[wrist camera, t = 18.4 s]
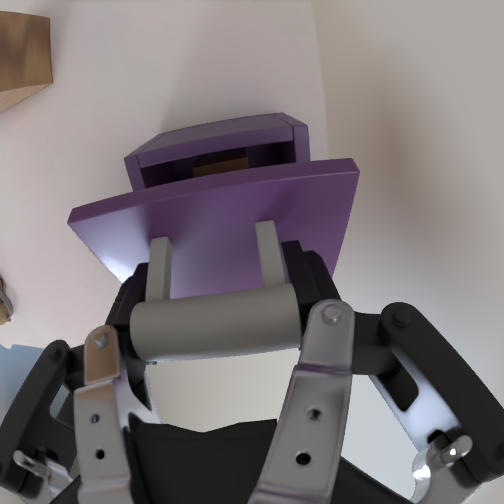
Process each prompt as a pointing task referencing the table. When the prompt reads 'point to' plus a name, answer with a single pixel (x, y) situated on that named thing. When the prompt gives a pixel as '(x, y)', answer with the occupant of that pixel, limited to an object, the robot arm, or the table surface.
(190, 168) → the box
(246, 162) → the block
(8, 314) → the alarm clock
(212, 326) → the lid
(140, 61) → the table surface
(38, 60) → the stand
